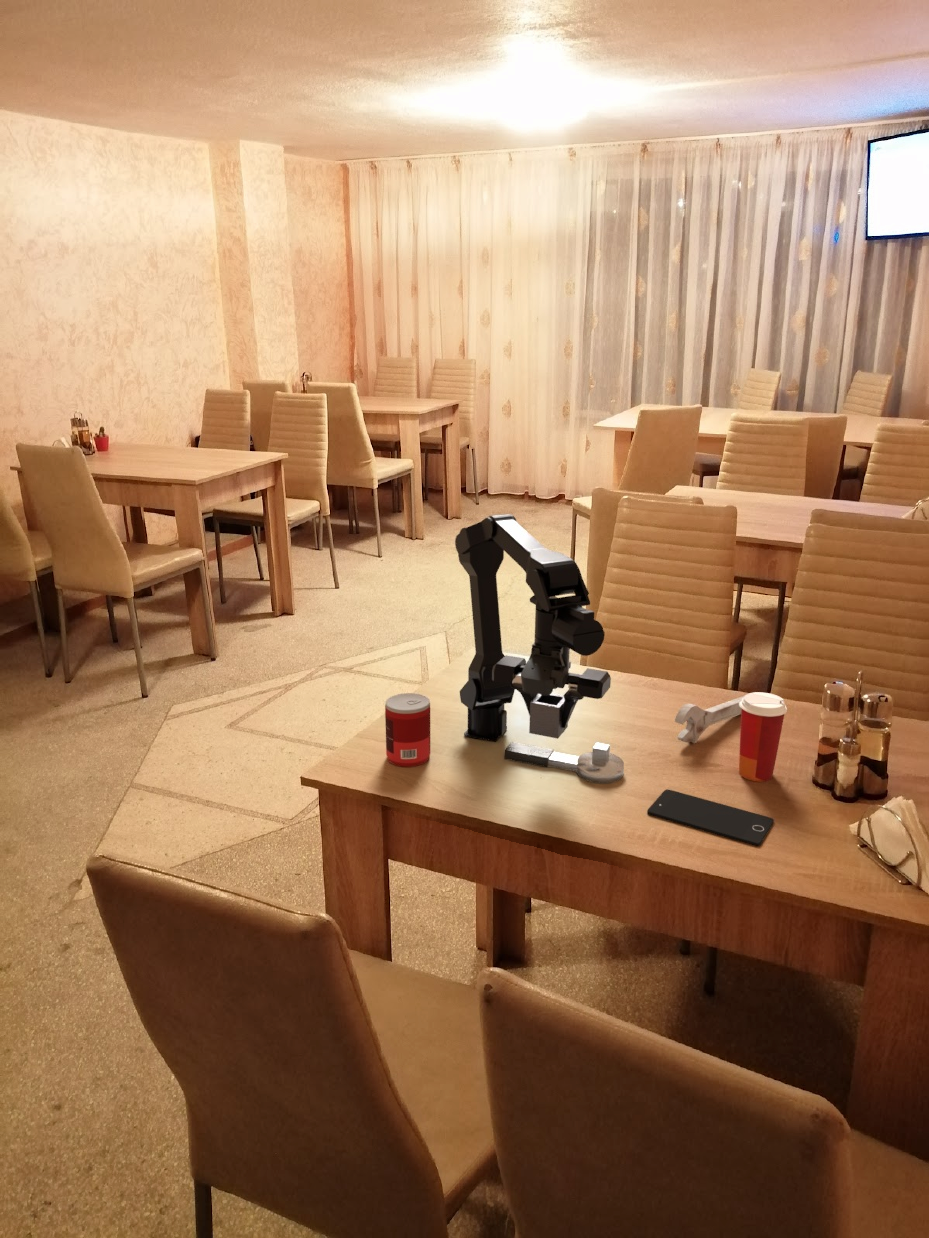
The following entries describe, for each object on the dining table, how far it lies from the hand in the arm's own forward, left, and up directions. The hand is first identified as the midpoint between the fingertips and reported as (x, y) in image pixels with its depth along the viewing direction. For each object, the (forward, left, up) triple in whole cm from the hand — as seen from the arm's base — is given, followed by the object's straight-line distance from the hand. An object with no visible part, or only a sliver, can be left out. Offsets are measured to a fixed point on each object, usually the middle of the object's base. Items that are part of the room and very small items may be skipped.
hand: (549, 724), depth 157 cm
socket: (0, 0, -1) cm, 1 cm away
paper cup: (+32, +17, -11) cm, 38 cm away
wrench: (+24, +35, -11) cm, 43 cm away
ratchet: (+1, +7, -11) cm, 13 cm away
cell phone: (+27, -1, -12) cm, 30 cm away
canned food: (-26, -1, -11) cm, 28 cm away
